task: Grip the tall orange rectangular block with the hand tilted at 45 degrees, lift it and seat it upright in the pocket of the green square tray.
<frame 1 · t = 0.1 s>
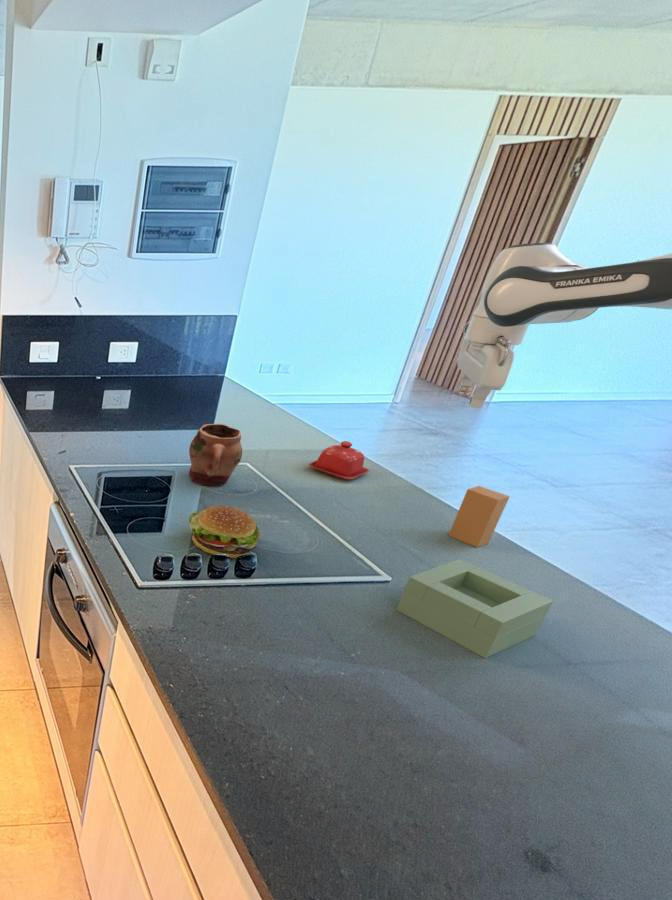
hand: (468, 400, 127), 27 cm above the worktop, tool pointing down, fingers open, 8 cm apart
orange rectangular block: (468, 539, 130), on the worktop
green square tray: (463, 622, 105), on the worktop
food: (218, 545, 128), on the worktop
decorative planter: (208, 482, 157), on the worktop
butter dish: (337, 472, 163), on the worktop
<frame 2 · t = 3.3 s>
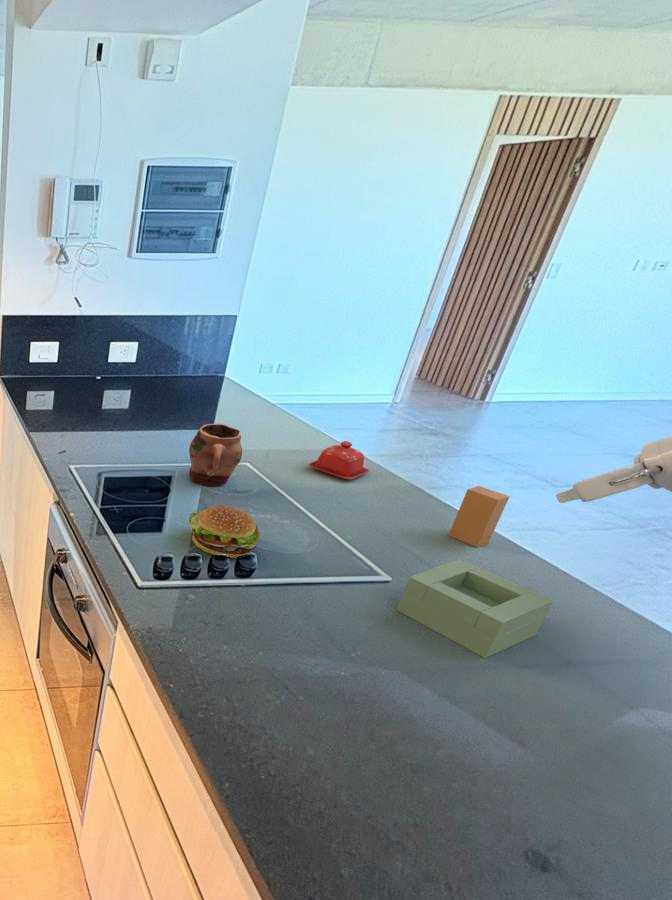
hand: (573, 494, 113), 16 cm above the worktop, tool tilted 45°, fingers open, 8 cm apart
nothing on the worktop moved.
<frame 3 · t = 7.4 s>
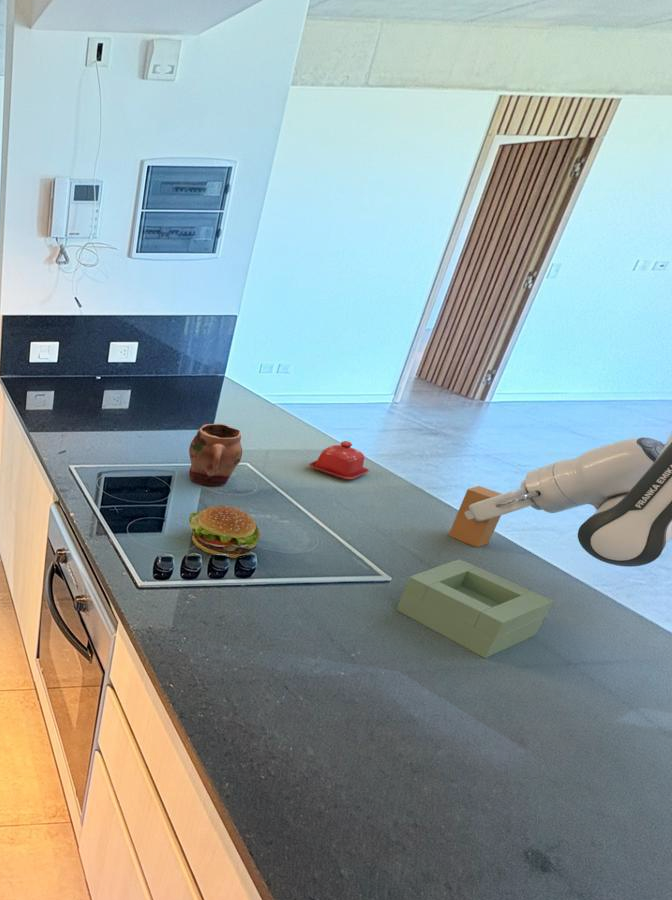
hand: (475, 513, 128), 6 cm above the worktop, tool tilted 45°, fingers closed on orange rectangular block, 4 cm apart
orange rectangular block: (468, 539, 130), on the worktop, touching gripper
everything else where it was.
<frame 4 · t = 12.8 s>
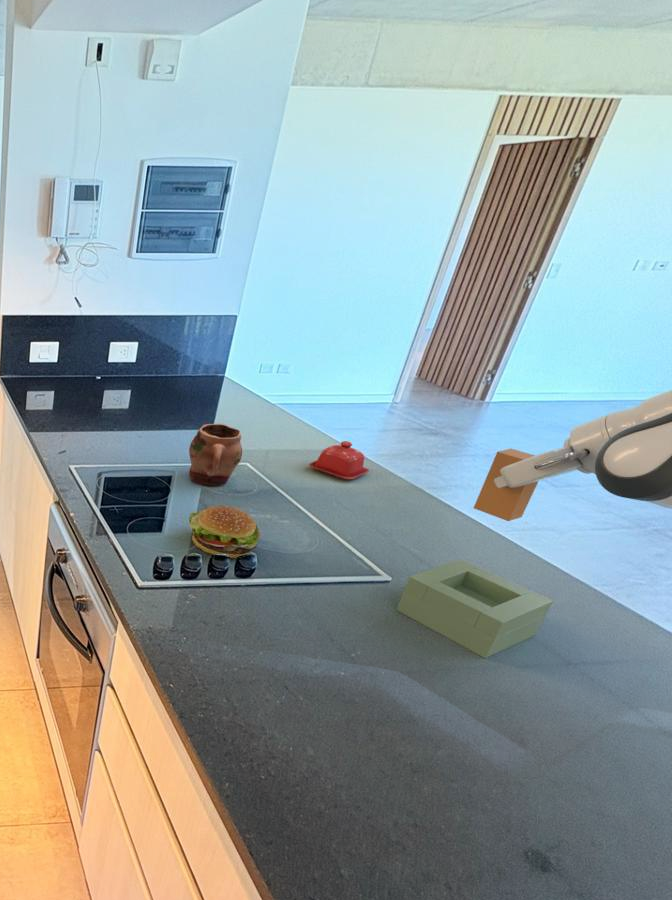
hand: (506, 480, 108), 20 cm above the worktop, tool tilted 45°, fingers closed on orange rectangular block, 4 cm apart
orange rectangular block: (497, 512, 110), point 14 cm above the worktop, touching gripper
everything else where it was.
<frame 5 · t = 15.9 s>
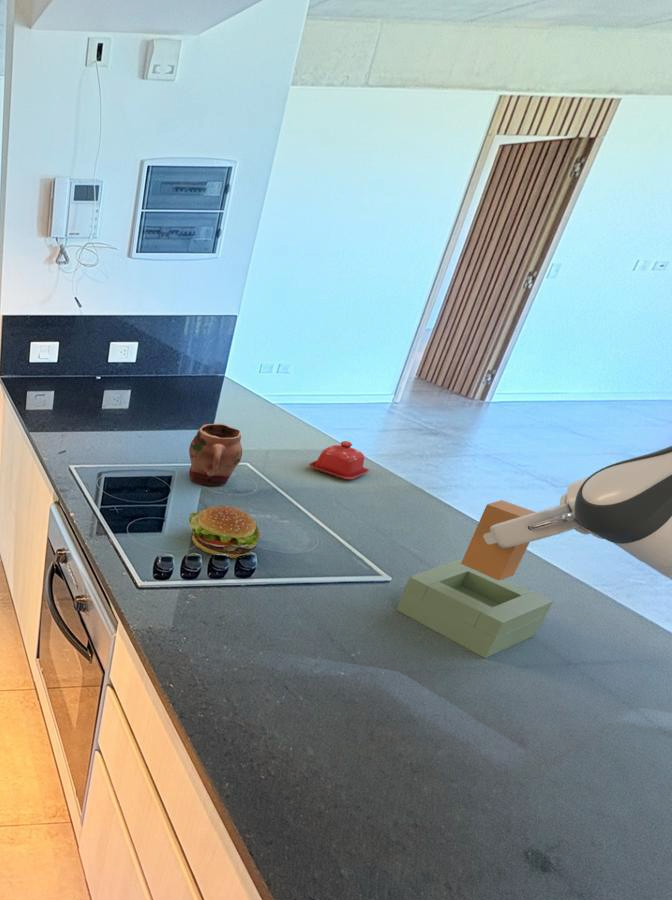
hand: (497, 535, 98), 16 cm above the worktop, tool tilted 45°, fingers closed on orange rectangular block, 4 cm apart
orange rectangular block: (486, 569, 100), point 10 cm above the worktop, touching gripper
everything else where it was.
when the fingers open (10 cm above the worktop, at t = 18.1 s): orange rectangular block stays where it is, resting on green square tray.
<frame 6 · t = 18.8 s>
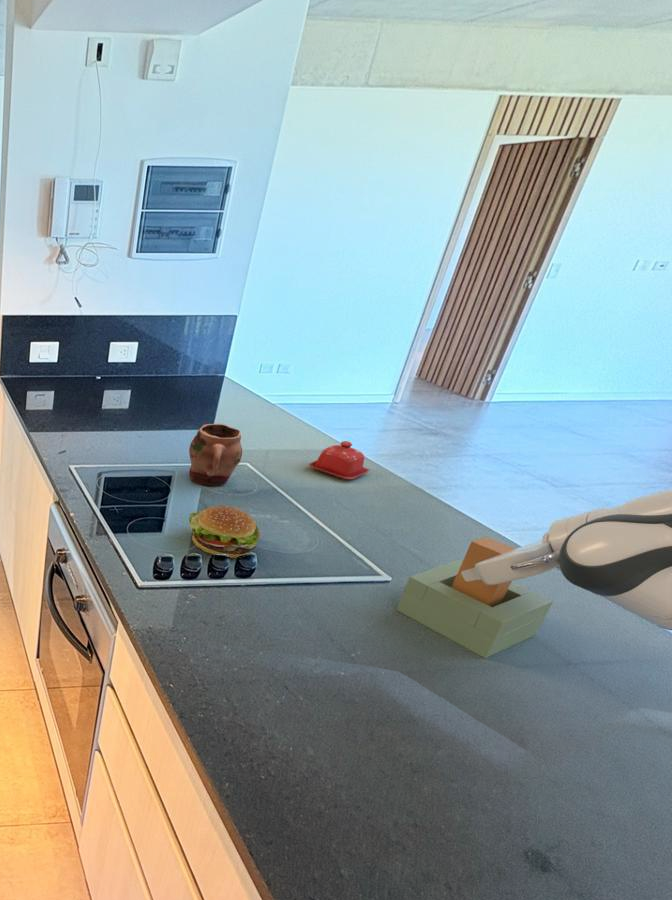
hand: (482, 569, 101), 10 cm above the worktop, tool tilted 45°, fingers open, 8 cm apart
orange rectangular block: (472, 603, 103), point 4 cm above the worktop, touching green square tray
everything else where it was.
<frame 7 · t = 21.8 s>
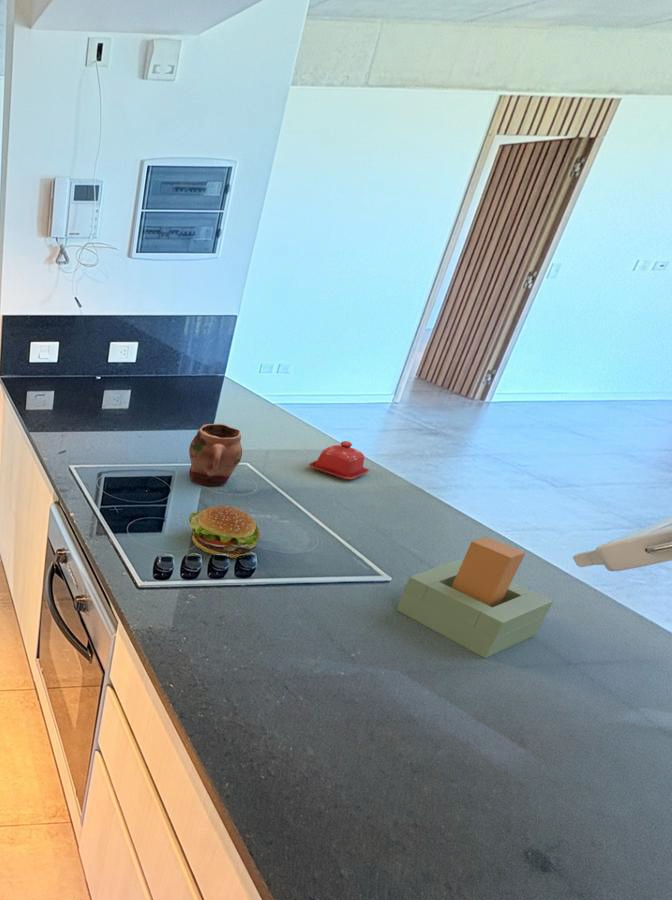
hand: (596, 553, 88), 19 cm above the worktop, tool tilted 45°, fingers open, 8 cm apart
nothing on the worktop moved.
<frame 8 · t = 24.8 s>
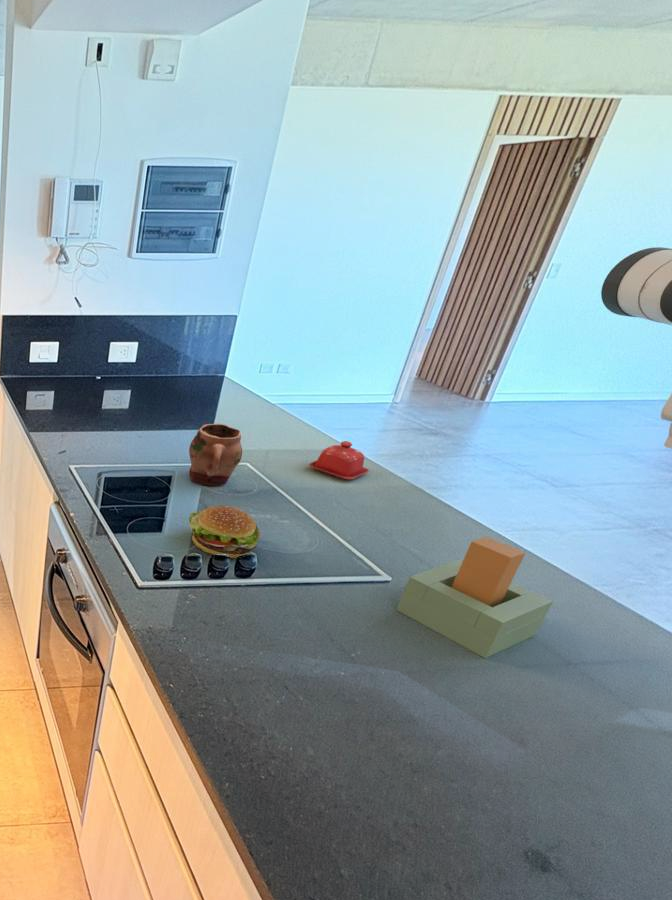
nothing on the worktop moved.
at the end: orange rectangular block 0.2 cm off-centre on the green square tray, point 4.0 cm above the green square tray's base; orange rectangular block tilted 0°; the gripper is holding nothing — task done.
